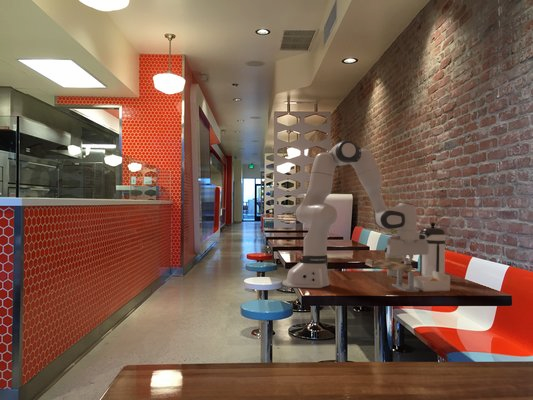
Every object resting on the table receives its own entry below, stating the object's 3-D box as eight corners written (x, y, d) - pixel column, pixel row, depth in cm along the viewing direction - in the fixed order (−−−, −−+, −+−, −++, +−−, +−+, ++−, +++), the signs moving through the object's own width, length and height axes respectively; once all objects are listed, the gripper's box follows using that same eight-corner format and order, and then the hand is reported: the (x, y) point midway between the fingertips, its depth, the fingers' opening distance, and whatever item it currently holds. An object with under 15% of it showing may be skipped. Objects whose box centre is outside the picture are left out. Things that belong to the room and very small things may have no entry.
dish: (423, 291, 188) (424, 275, 188) (409, 285, 201) (409, 271, 201) (449, 291, 189) (450, 275, 189) (433, 285, 203) (434, 270, 203)
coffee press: (454, 282, 210) (455, 223, 210) (422, 282, 210) (423, 222, 211) (440, 276, 227) (441, 221, 228) (411, 276, 228) (412, 221, 228)
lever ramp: (371, 269, 187) (372, 260, 187) (358, 263, 204) (359, 256, 204) (423, 275, 191) (424, 267, 191) (406, 269, 207) (407, 262, 207)
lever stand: (406, 292, 186) (406, 272, 186) (391, 285, 201) (392, 267, 201) (419, 291, 186) (419, 272, 187) (403, 285, 201) (403, 267, 201)
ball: (440, 278, 194) (441, 287, 194) (436, 277, 198) (436, 285, 198) (432, 279, 193) (433, 288, 193) (428, 277, 197) (428, 286, 197)
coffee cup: (400, 274, 233) (400, 247, 233) (404, 277, 223) (404, 249, 223) (382, 273, 234) (382, 247, 234) (385, 276, 224) (386, 249, 224)
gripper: (389, 236, 199) (390, 265, 199) (430, 236, 202) (430, 264, 202) (384, 235, 205) (384, 263, 205) (423, 235, 208) (423, 262, 208)
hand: (407, 264), depth 203 cm, fingers closed
